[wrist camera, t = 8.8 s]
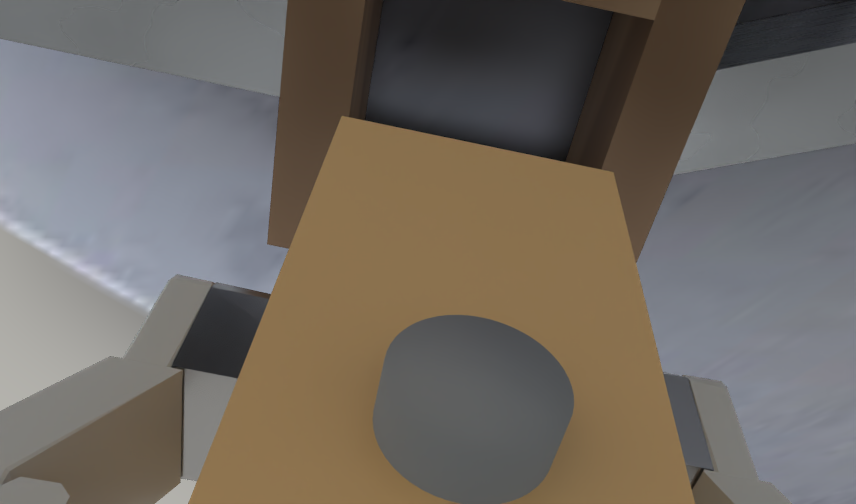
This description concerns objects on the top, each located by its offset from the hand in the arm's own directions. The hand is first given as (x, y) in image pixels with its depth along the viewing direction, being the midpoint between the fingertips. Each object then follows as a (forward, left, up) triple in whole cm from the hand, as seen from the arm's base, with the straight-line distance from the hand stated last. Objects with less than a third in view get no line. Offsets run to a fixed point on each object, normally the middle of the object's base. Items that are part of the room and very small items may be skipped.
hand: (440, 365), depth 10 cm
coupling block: (0, 0, -3) cm, 3 cm away
